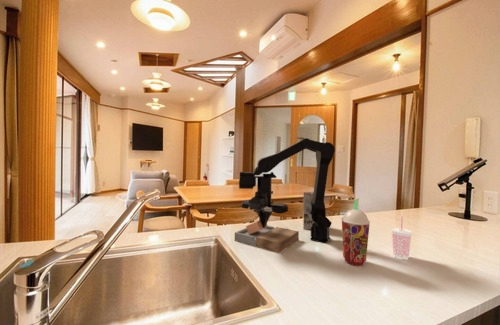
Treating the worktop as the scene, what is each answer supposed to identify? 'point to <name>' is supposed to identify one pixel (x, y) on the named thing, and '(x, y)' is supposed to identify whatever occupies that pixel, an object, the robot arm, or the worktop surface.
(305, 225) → the coffee box
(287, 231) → the board
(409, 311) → the worktop surface
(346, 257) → the smoothie
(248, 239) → the box
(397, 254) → the beverage cup
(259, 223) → the salmon pink block
